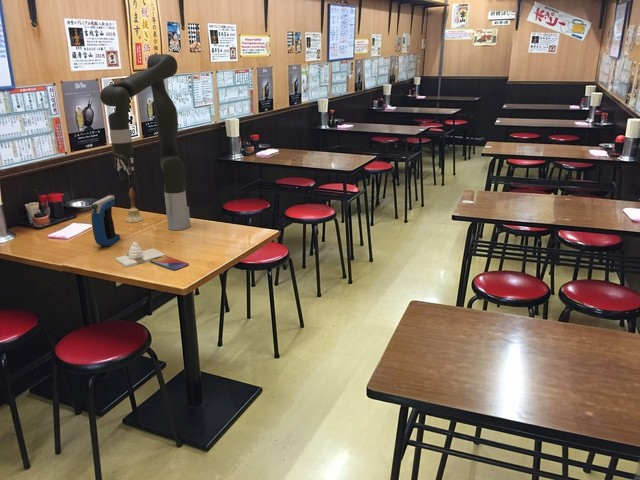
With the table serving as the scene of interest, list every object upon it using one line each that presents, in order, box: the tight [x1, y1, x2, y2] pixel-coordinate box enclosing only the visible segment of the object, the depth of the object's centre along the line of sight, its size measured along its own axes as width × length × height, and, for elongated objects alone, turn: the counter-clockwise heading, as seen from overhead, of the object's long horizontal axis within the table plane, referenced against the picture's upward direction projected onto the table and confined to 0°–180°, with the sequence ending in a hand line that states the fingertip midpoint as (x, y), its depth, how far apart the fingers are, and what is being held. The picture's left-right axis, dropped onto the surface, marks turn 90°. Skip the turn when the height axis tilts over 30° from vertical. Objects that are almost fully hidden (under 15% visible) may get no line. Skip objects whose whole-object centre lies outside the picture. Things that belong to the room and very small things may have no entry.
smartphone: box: [149, 255, 190, 272], centre depth 196 cm, size 7×15×1 cm, turn 54°
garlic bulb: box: [128, 241, 144, 259], centre depth 199 cm, size 6×6×5 cm
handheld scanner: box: [90, 193, 121, 247], centre depth 215 cm, size 5×16×20 cm, turn 174°
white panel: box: [114, 247, 167, 268], centre depth 201 cm, size 16×10×1 cm, turn 133°
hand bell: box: [125, 187, 144, 224], centre depth 247 cm, size 8×8×16 cm
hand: (127, 182), depth 204 cm, fingers open, 8 cm apart
